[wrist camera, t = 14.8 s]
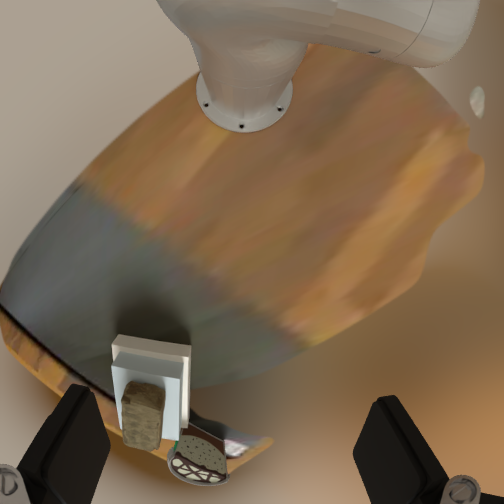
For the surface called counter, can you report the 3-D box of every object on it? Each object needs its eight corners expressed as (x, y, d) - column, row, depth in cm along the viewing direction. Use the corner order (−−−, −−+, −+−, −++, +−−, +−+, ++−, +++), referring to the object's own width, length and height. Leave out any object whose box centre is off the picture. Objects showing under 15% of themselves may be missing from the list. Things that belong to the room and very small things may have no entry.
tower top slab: (120, 351, 41) (111, 365, 37) (183, 362, 42) (179, 379, 38) (126, 413, 44) (120, 428, 40) (181, 424, 45) (178, 440, 41)
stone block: (130, 426, 40) (122, 447, 35) (128, 375, 37) (118, 396, 33) (164, 434, 40) (159, 456, 36) (167, 384, 38) (161, 407, 33)
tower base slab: (119, 332, 44) (111, 344, 40) (191, 343, 45) (188, 357, 41) (127, 402, 48) (122, 416, 44) (189, 413, 49) (187, 428, 45)
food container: (161, 430, 49) (152, 467, 39) (178, 416, 48) (170, 455, 39) (211, 456, 52) (209, 493, 42) (230, 444, 51) (230, 482, 41)
